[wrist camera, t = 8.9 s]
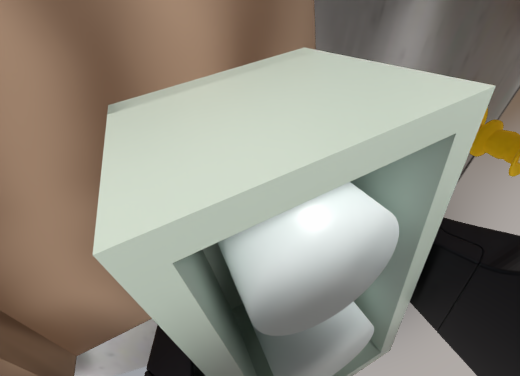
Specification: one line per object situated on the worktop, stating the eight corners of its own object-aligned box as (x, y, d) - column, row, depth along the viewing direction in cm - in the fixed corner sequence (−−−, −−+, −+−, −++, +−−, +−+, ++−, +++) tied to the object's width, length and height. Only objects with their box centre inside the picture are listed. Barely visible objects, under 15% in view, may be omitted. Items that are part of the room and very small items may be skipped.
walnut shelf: (294, -78, 10) (348, -104, 8) (312, 224, 22) (336, 251, 19) (-475, 46, 6) (-895, 71, 3) (54, 349, 17) (43, 405, 15)
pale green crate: (304, 47, 8) (495, 85, 4) (315, 256, 15) (390, 350, 11) (108, 105, 7) (93, 254, 3) (218, 306, 14) (262, 436, 9)
